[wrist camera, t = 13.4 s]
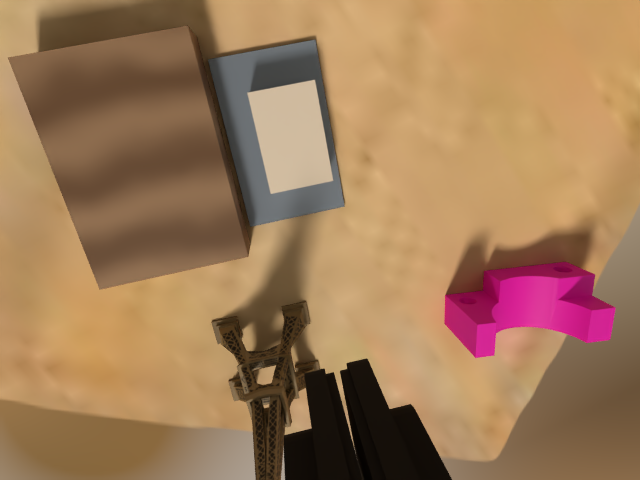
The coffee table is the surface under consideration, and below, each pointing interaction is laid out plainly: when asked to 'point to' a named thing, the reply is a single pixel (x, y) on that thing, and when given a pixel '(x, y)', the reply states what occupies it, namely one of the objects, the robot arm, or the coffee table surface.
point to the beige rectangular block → (291, 136)
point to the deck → (136, 153)
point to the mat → (232, 92)
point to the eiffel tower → (268, 385)
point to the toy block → (529, 306)
